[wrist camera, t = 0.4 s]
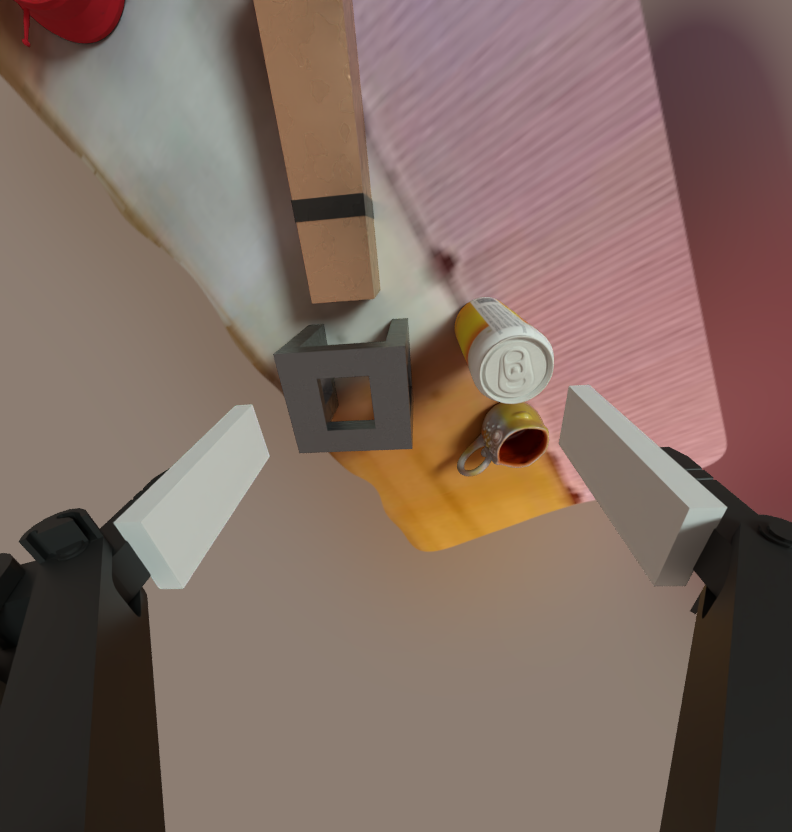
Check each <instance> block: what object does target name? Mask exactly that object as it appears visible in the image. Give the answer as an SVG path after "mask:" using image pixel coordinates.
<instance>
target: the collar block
mask: <svg viewBox="0 0 792 832" xmlns="http://www.w3.org/2000/svg"><path fill="white" fill-rule="evenodd" d="M273 355H274V359H275V363H276V367H277V370H278V374H279V378H280V382H281V385H282V389H283V393H284V397H285V400H286V404H287V408H288V412H289V415H290V419H291V423H292V427H293V431H294V434H295V438H296V442H297V445H298V449H299V453H315V452H341V451H368V450H394V449H412V439H413V390H412V374H411V358H410V343H409V327H408V318H404V319H392V322H391V325H390V328H389V332H388V335H387V339H386V341H383V342H368V343H353V344H338V345H327V340H326V335H325V329H324V324H321V325H308V326H307V327H306V328H305V329H304V330H302V331H301V332H300V333H299V334H297V335H296V336H295V337H294V338H293V339H291V340H290V341H289V342H288V343H287V344H285V345H284V346H283V347H282V348H280V349H279V350H278V351H277V352H276V353H274V354H273ZM356 376H369V380H370V388H371V396H372V403H373V411H374V419H375V420H361V421H339V422H331V420H332V418H333V416H334V414H335V412H336V409H337V407H338V400H337V394H336V389H335V384H334V378H338V377H356Z"/></svg>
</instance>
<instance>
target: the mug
mask: <svg viewBox="0 0 792 832" xmlns="http://www.w3.org/2000/svg"><path fill="white" fill-rule="evenodd" d="M548 443H549V432H548V429H547V428H546V427H545V425H544V424H543V421H542V419H541V417H540V415H539V414H538V412H537V411H536V410H535V409H534V408H533V407H532V406H530V405H529V404H527V403H525V402H522V403H517V404H505V403H498V404H497V405H495V406H494V407H492V408H491V409H490V410H489V412H488V413H487V414H486V416H485V418H484V421H483V424H482V434H481V435H480V436H479V437H478V438H477V439H476V440H475V441H474V442H473V443H472V444H471V445H470V446H469V447H468V448H467V449H466V450H465V451H464V452H463V454H462V455H461V456H460V458H459V460H458V462H457V469H458V471H459V473H460V474H462V475H464V476H475V475H478V474H480V473H481V472H483V471H484V470H485V469H486V468H487V466H488V465H489V464H490V462H491V460H492V461H493V462H494V463H495V464H496V465H505V466H508V467H514V468H519V467H526V466H529V465H530V464H532V463H533V462H535V461H536V460H537V459H538V458H539V457H540V456H542V455H543V453H544V452H545V451H546V449H547V447H548ZM483 446H485V448H483V449H482V451H481V455H482V456H483V457H486V458H485V460H484V461H483V462H482V463H481V464H480V465H479V466H478V467H477V468H475V469H473V470H465V469H464V464H465V461H466V460H467V458H468V457H469V456H470V455H471V454H472V453H473V452H474V451H476V450H477V449H479V448H480V447H483Z"/></svg>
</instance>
